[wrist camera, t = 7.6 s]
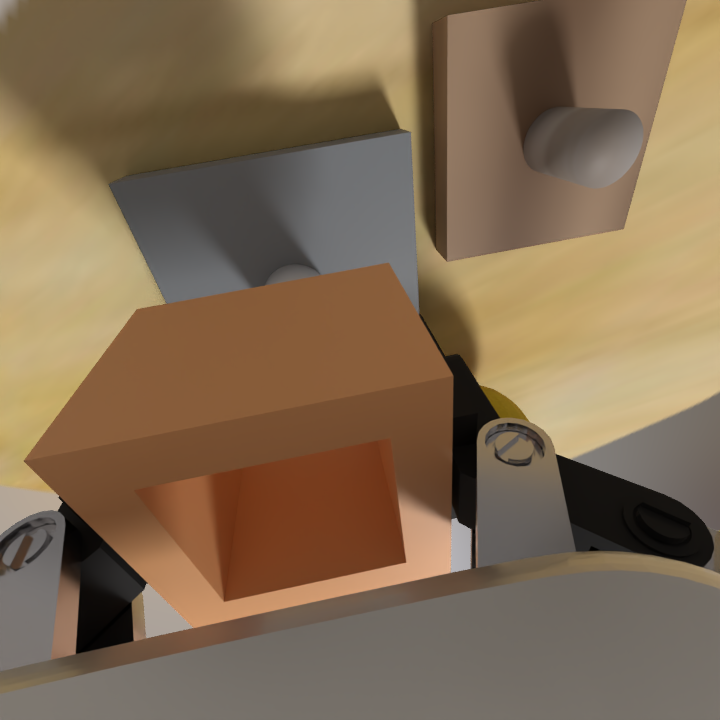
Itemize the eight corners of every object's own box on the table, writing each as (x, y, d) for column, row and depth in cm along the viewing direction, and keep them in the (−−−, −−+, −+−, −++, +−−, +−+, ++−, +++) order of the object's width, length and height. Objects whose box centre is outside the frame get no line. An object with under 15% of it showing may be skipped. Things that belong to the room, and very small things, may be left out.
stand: (654, -13, 12) (803, -59, 9) (599, 219, 17) (684, 253, 13) (432, 23, 12) (491, -9, 8) (436, 249, 16) (475, 293, 13)
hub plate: (400, 128, 14) (462, 147, 9) (414, 351, 20) (455, 442, 14) (125, 175, 13) (19, 225, 8) (223, 388, 19) (196, 494, 14)
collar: (388, 262, 9) (453, 376, 5) (404, 434, 12) (450, 574, 9) (136, 309, 9) (24, 460, 5) (225, 471, 12) (195, 630, 9)
